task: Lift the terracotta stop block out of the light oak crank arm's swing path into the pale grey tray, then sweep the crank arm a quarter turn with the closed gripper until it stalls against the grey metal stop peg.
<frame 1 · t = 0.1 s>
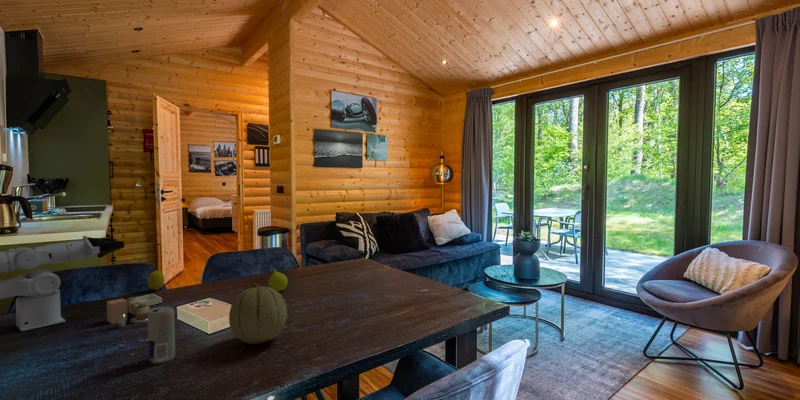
hand: (119, 243, 126), 22 cm above the table, tool horizontal, fingers open, 7 cm apart
energy drink: (162, 359, 90), on the table
cantaloupe: (259, 342, 101), on the table
green fig: (278, 291, 147), on the table
crank base: (142, 319, 116), on the table
tray: (144, 304, 130), on the table
lemon: (156, 291, 147), on the table
stop block: (117, 320, 115), on the table
crank arm: (137, 307, 118), point 3 cm above the table, hinge at 0.0°
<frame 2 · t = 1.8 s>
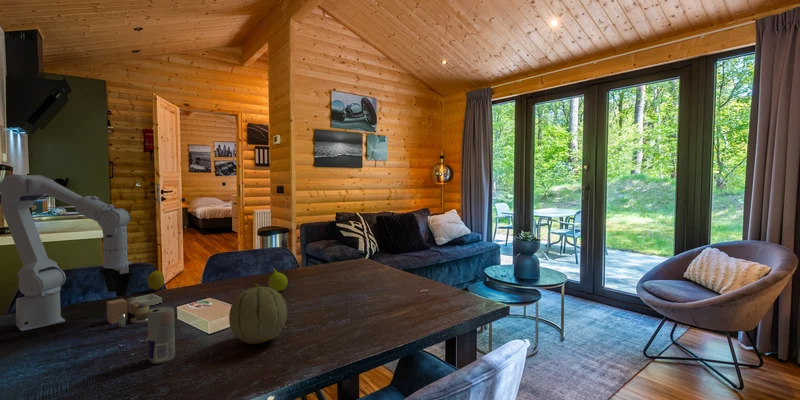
hand: (116, 293, 115), 8 cm above the table, tool pointing down, fingers open, 7 cm apart
nothing on the table moved.
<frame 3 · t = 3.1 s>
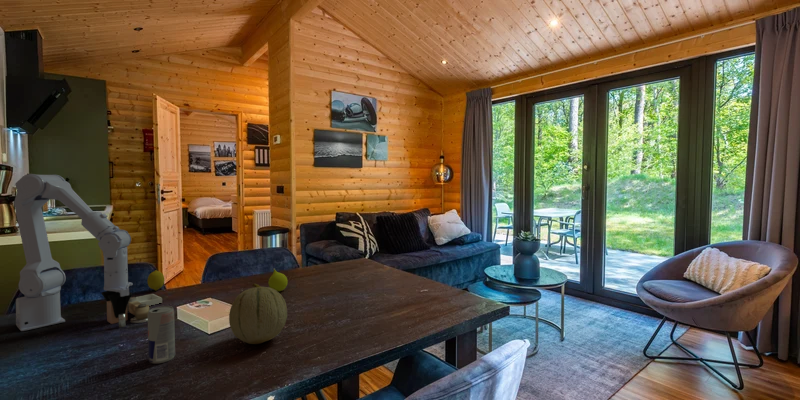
hand: (117, 315, 115), 2 cm above the table, tool pointing down, fingers closed on stop block, 4 cm apart
stop block: (117, 320, 115), on the table, touching gripper
everything else where it was.
when the fingers open (4 cm above the table, at t = 6.9 s): stop block drops 2 cm, resting on tray.
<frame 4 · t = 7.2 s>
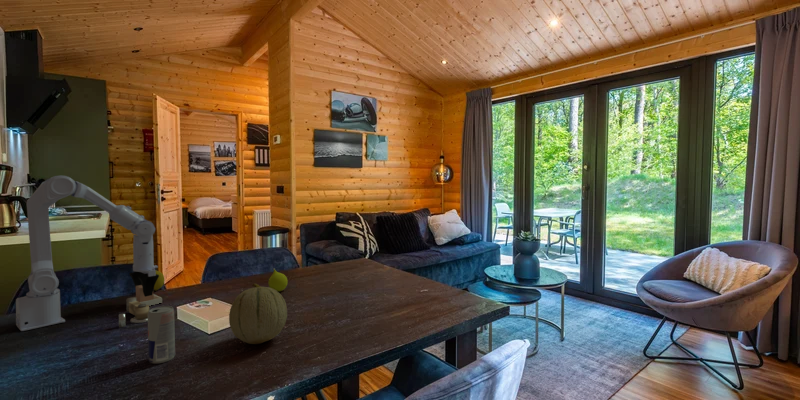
hand: (144, 293, 130), 4 cm above the table, tool pointing down, fingers open, 6 cm apart
stop block: (144, 303, 130), resting on tray
everything else where it was.
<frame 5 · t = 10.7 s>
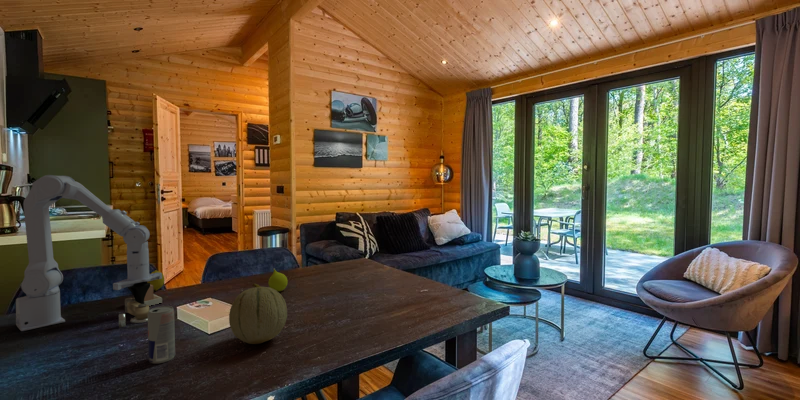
hand: (139, 306, 121), 2 cm above the table, tool pointing down, fingers closed, pressing on crank arm
crank arm: (136, 307, 118), point 3 cm above the table, hinge at 2.9°, touching gripper
everything else where it was.
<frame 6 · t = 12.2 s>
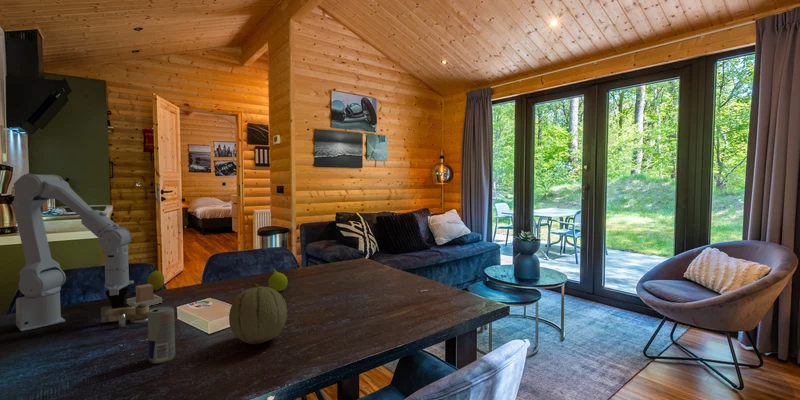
hand: (118, 312, 115), 2 cm above the table, tool pointing down, fingers closed, pressing on crank arm
crank arm: (125, 312, 114), point 3 cm above the table, hinge at 58.6°, touching gripper
everything else where it was.
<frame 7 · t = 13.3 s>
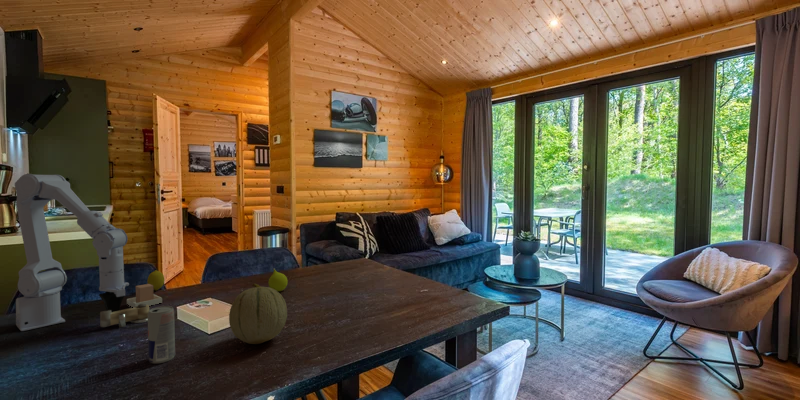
hand: (113, 316, 112), 2 cm above the table, tool pointing down, fingers closed
crank arm: (125, 314, 113), point 3 cm above the table, hinge at 87.6°, touching gripper
everything else where it was.
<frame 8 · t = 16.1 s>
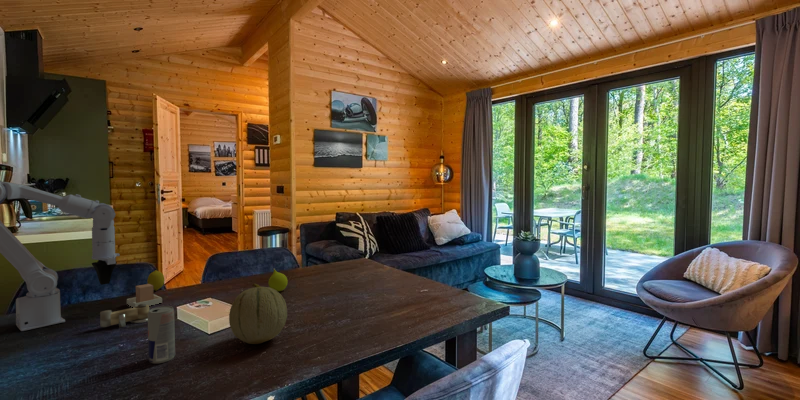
hand: (104, 283, 121), 9 cm above the table, tool pointing down, fingers closed
crank arm: (125, 314, 113), point 3 cm above the table, hinge at 88.0°
everything else where it was.
at the end: crank arm at +88° (first picture: +0°); stop block 0.1 cm off-centre on the tray, point 0.4 cm above the tray's base; stop block tilted 0° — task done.
